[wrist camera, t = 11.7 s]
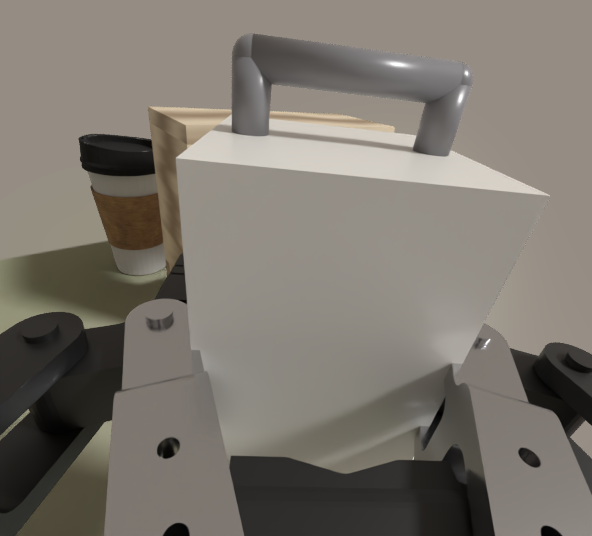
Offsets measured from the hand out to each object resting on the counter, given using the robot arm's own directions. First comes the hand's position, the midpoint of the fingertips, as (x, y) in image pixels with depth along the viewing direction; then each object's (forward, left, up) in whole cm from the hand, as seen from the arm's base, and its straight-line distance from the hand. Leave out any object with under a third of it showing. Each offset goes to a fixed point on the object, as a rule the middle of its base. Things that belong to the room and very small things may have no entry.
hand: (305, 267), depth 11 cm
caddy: (0, -3, -6) cm, 7 cm away
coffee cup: (-22, +23, -18) cm, 36 cm away
